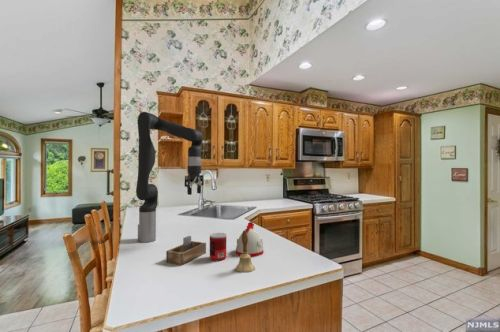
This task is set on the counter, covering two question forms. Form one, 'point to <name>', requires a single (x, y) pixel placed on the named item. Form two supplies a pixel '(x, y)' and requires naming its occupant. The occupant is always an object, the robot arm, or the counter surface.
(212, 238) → the canned food
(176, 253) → the open wooden box
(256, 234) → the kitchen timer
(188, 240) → the bracket
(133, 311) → the counter surface
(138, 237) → the robot arm
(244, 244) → the hand bell
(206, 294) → the counter surface
